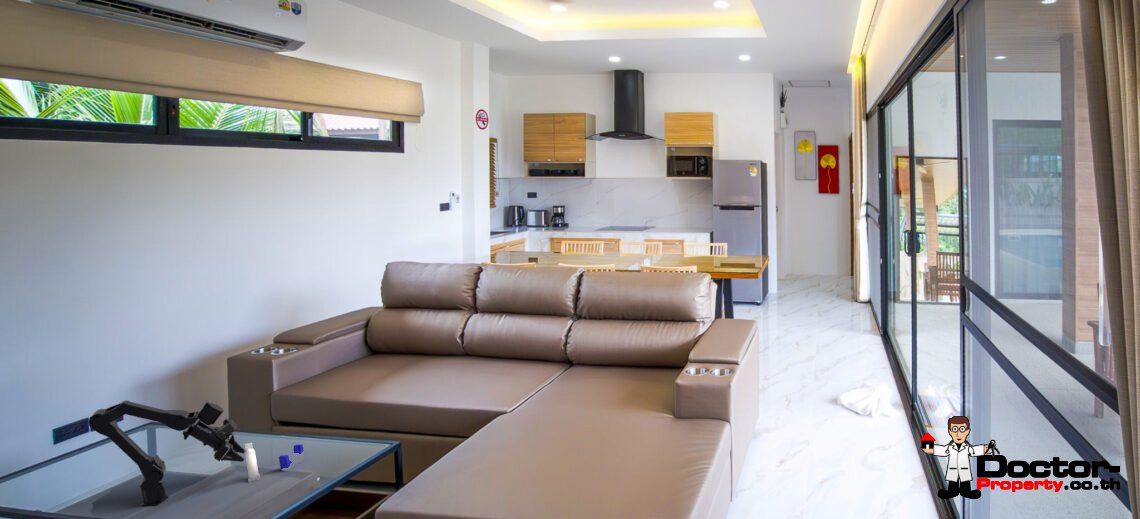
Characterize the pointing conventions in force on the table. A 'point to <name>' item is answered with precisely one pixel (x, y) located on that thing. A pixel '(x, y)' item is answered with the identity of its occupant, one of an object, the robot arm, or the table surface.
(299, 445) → the blue blocks
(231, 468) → the table surface
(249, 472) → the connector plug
